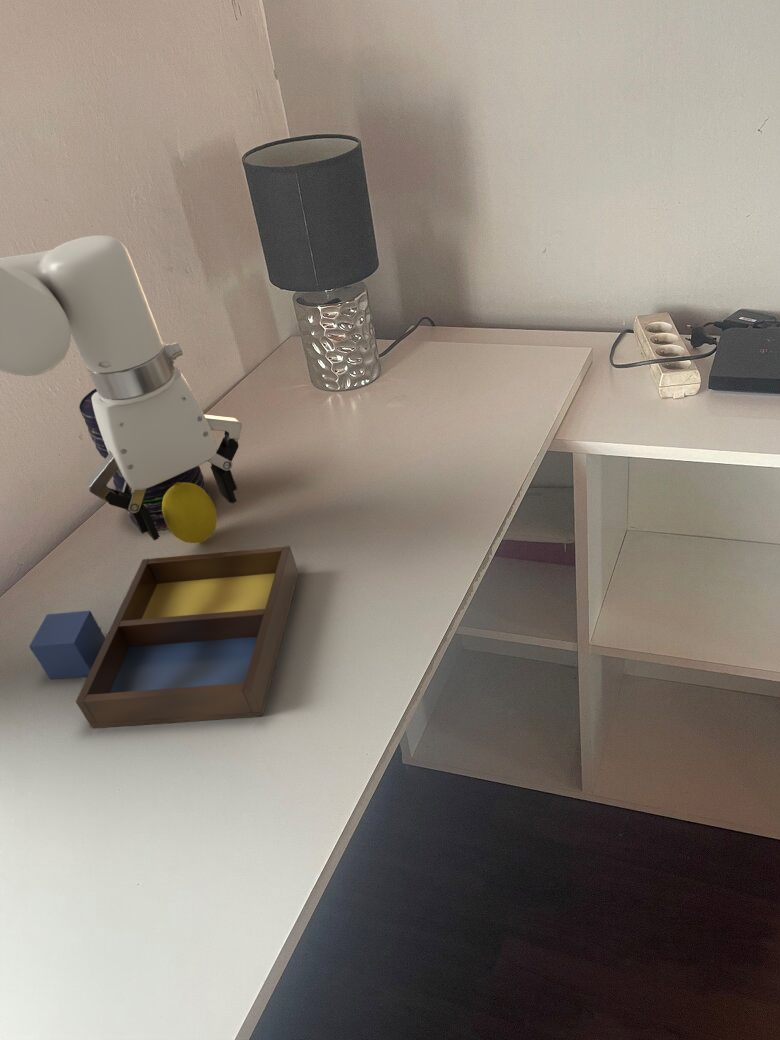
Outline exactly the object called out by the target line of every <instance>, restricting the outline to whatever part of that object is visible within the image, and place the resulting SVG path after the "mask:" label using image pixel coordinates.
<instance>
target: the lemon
mask: <svg viewBox="0 0 780 1040" xmlns="http://www.w3.org/2000/svg"><path fill="white" fill-rule="evenodd" d="M162 511H163V516H164V520H165V522H166V525H167V527H168V529H167V530H169V531H170V533H171V534H172V535H173V536H174V537H175V538H176V539H178V540H179V541H182V542H184V543H188V544H203V543H205V541H207V539H209V538H210V537H211V536H212V535H213V533H215V530H216V527H217V523H218V515H217V509H216V506H215V504H214V501H213V499H211V497H210V495H209V496H208V494H207V493H206V492H205V490H203V489H202V488H201V487H200V486H198V485H196V484H193V483H187V482H183V483H180V482H178V483H176V484H175V485H174V486H172V487H171V488H170V489H169V490H168V491H167V492H166V494H165V495H164V497H163V502H162Z"/></svg>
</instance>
